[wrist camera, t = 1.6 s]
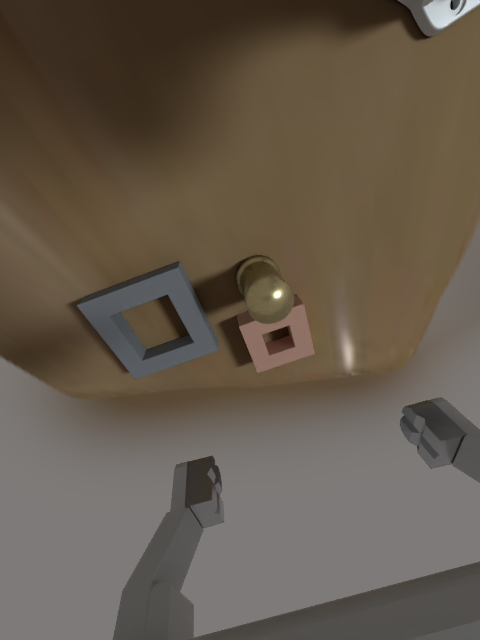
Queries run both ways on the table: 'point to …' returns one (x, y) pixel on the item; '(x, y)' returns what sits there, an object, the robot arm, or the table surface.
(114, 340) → the socket block
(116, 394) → the table surface
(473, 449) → the robot arm
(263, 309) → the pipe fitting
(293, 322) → the small socket
